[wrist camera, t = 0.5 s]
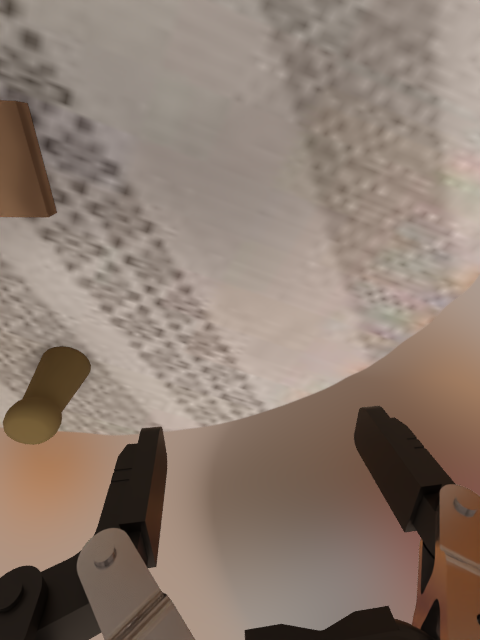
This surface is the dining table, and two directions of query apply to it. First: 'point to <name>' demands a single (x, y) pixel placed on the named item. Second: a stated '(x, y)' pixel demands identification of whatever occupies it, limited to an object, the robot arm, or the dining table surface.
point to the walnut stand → (22, 165)
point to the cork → (47, 396)
